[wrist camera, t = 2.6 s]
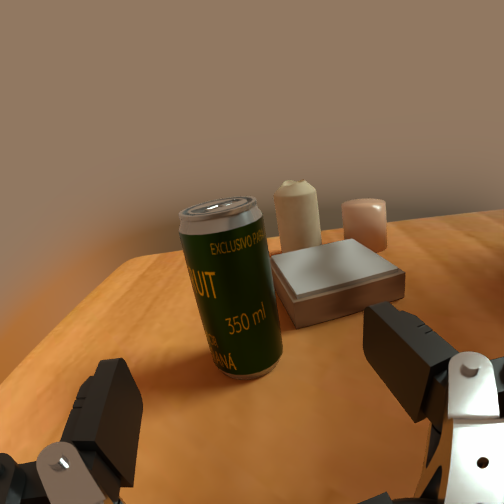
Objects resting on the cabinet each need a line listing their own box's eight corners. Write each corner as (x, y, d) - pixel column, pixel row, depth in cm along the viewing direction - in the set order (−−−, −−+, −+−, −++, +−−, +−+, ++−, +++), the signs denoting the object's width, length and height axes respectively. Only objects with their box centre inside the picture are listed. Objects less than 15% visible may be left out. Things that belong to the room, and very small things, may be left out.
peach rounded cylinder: (373, 236, 44) (371, 196, 42) (395, 248, 38) (394, 204, 36) (338, 244, 44) (334, 203, 42) (356, 257, 38) (354, 211, 36)
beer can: (255, 331, 27) (229, 194, 23) (298, 356, 23) (278, 196, 19) (203, 359, 24) (162, 214, 20) (241, 393, 20) (199, 221, 16)
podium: (355, 259, 37) (353, 236, 36) (404, 297, 27) (405, 268, 26) (269, 279, 36) (265, 255, 35) (296, 328, 26) (292, 298, 25)
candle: (275, 254, 44) (264, 183, 40) (308, 244, 45) (300, 176, 42) (295, 265, 39) (284, 186, 36) (330, 253, 41) (323, 178, 37)
